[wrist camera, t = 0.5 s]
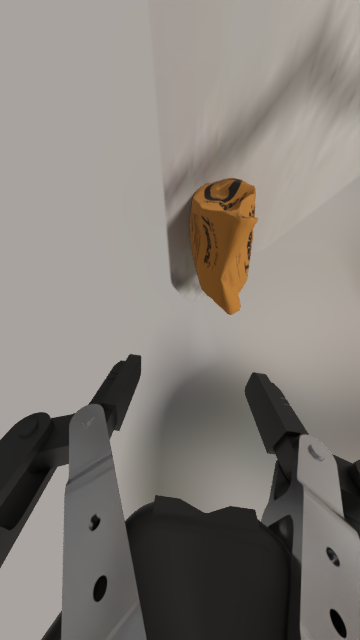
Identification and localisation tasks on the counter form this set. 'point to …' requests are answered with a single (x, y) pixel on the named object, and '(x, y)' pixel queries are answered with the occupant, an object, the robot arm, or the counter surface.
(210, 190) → the coffee package
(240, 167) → the counter surface
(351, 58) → the counter surface
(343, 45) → the counter surface
